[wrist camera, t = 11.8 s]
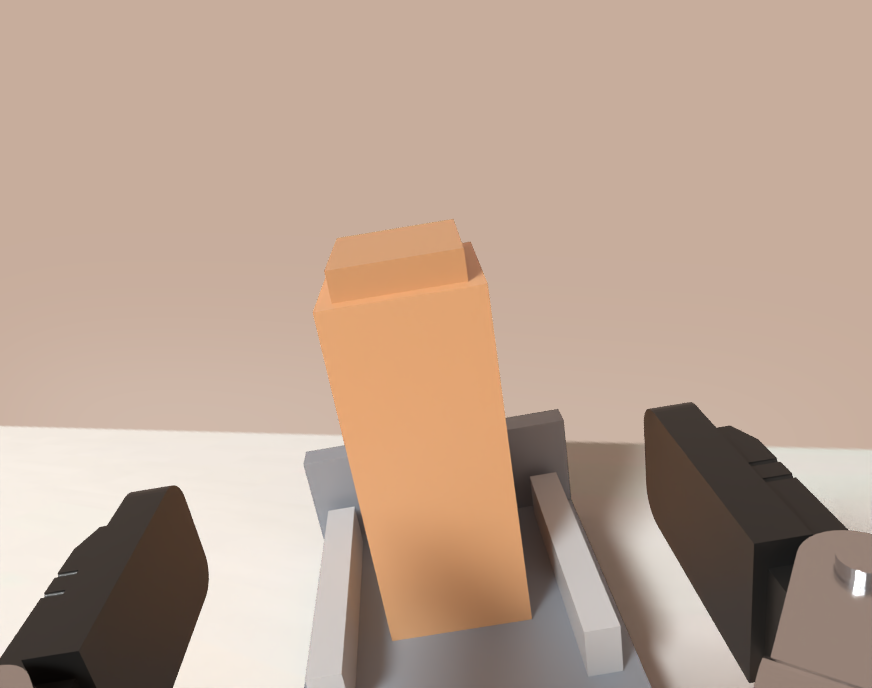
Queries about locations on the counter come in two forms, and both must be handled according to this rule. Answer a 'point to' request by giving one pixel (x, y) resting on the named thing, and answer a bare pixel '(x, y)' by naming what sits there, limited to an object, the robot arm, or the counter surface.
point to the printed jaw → (424, 427)
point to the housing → (485, 646)
